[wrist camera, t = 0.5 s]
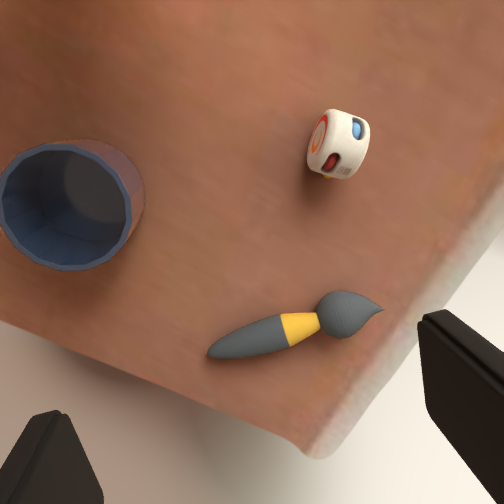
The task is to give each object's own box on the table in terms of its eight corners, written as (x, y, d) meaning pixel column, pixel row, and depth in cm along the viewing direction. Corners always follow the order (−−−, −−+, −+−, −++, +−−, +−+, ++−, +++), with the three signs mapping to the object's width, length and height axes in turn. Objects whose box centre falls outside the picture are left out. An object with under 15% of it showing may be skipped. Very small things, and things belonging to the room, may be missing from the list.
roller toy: (360, 119, 41) (385, 119, 35) (338, 181, 42) (358, 190, 37) (319, 105, 40) (338, 103, 34) (298, 169, 41) (313, 176, 36)
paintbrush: (220, 372, 48) (222, 400, 43) (202, 338, 46) (202, 363, 41) (377, 305, 47) (396, 326, 43) (364, 269, 46) (383, 286, 41)
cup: (13, 193, 39) (-33, 211, 32) (83, 115, 38) (53, 114, 30) (98, 263, 42) (75, 294, 35) (166, 193, 41) (158, 209, 33)
